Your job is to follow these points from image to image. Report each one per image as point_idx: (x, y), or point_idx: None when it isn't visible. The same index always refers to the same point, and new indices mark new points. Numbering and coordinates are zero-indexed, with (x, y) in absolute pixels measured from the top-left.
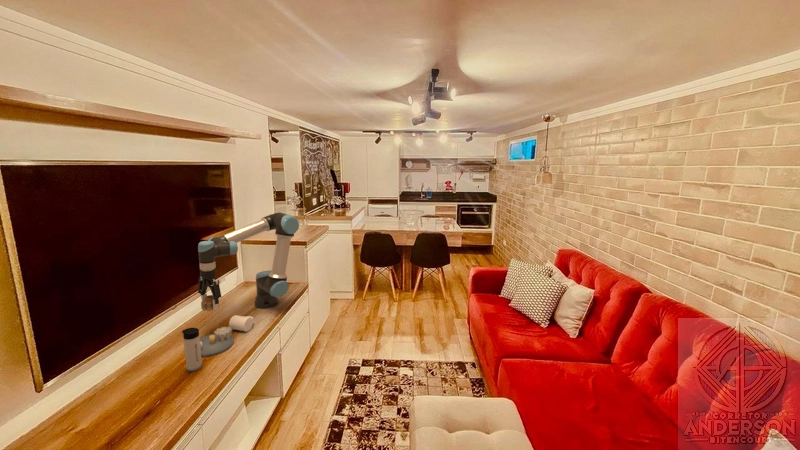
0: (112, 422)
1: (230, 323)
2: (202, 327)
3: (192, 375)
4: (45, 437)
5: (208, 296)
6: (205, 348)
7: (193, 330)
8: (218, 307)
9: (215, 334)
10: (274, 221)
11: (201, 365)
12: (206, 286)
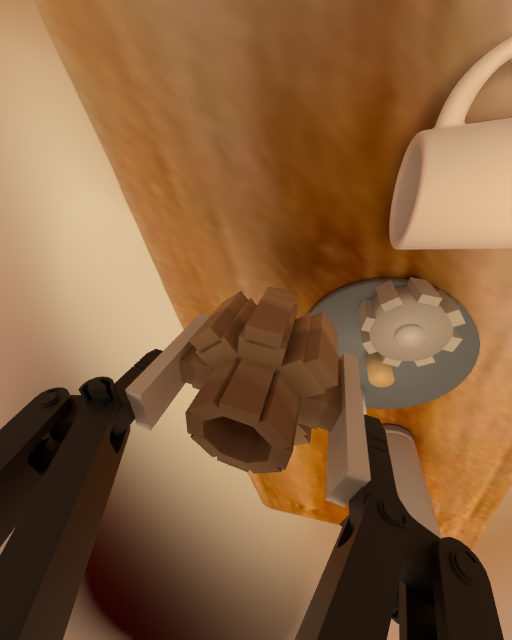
0: (344, 511)
1: (410, 249)
2: (226, 243)
3: None
4: (285, 508)
5: (204, 420)
6: (371, 384)
7: None
8: (356, 363)
9: (385, 361)
10: None
11: (413, 439)
12: (44, 613)
